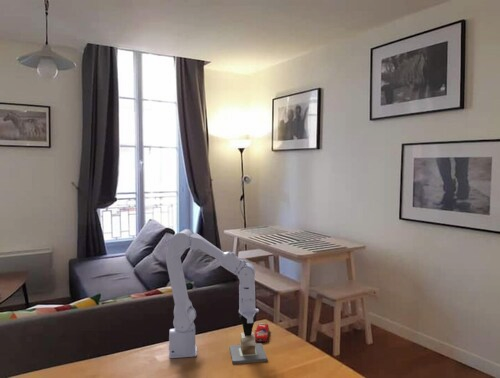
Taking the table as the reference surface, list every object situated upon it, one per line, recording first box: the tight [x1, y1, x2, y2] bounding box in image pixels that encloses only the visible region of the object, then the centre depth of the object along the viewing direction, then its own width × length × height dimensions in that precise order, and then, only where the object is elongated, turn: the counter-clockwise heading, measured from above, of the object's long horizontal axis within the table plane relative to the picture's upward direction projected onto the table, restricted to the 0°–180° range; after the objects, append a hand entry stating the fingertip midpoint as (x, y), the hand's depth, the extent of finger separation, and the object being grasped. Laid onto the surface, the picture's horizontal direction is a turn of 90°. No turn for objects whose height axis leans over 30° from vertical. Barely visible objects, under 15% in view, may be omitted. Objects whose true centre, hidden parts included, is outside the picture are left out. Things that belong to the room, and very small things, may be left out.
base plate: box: [229, 342, 268, 365], centre depth 138 cm, size 12×12×1 cm
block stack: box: [240, 331, 256, 355], centre depth 138 cm, size 4×4×6 cm
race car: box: [254, 322, 270, 343], centre depth 154 cm, size 13×5×4 cm, turn 172°
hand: (247, 335), depth 138 cm, fingers closed, pressing on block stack
